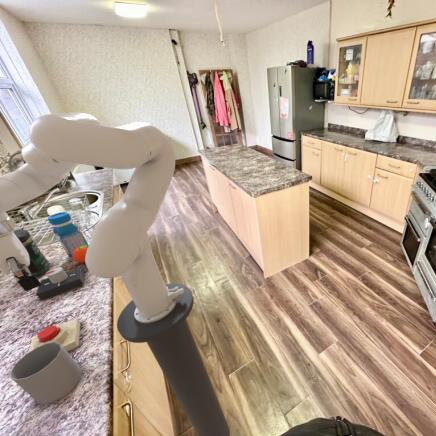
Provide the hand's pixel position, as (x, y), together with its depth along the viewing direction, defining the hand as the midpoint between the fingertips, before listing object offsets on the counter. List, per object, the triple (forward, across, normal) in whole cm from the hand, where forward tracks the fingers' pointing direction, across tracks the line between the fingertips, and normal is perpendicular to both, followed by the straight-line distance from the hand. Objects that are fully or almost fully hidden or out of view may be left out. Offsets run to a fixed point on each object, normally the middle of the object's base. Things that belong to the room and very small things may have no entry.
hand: (33, 280), depth 67 cm
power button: (+12, +11, -2) cm, 17 cm away
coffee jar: (+16, -40, -4) cm, 43 cm away
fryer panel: (+16, -20, +2) cm, 25 cm away
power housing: (+16, +11, -2) cm, 20 cm away
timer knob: (+13, -20, +3) cm, 23 cm away
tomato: (+16, -32, +12) cm, 38 cm away
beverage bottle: (+16, -41, +11) cm, 46 cm away
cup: (+16, +26, -3) cm, 31 cm away
